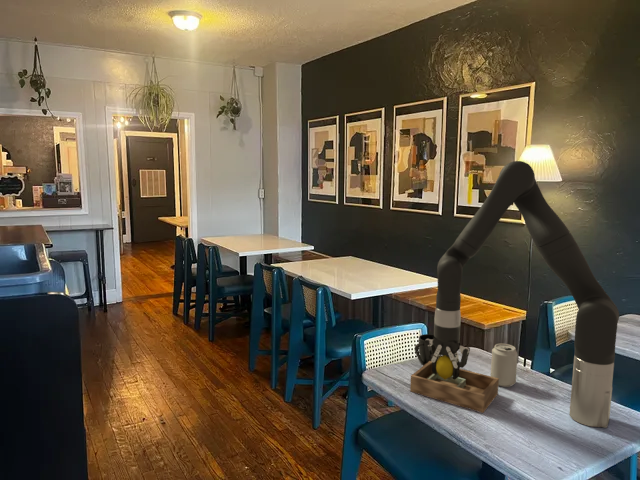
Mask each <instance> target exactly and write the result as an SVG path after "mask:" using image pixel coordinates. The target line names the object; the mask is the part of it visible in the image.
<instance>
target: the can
mask: <svg viewBox="0 0 640 480" xmlns="http://www.w3.org/2000/svg"><path fill="white" fill-rule="evenodd" d="M518 356H519V355H518V352H517V350H516V347H515V346H514V345H512V344H509V343H495V344H494V347H493V348H492V349H491V361H490V363H491V364H490V376H491V377H495V378H499V383H498V387H504V388H509V387H512V386H513V385H515V384H516V383H517V372H518V371H517V368H518Z"/></svg>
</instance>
